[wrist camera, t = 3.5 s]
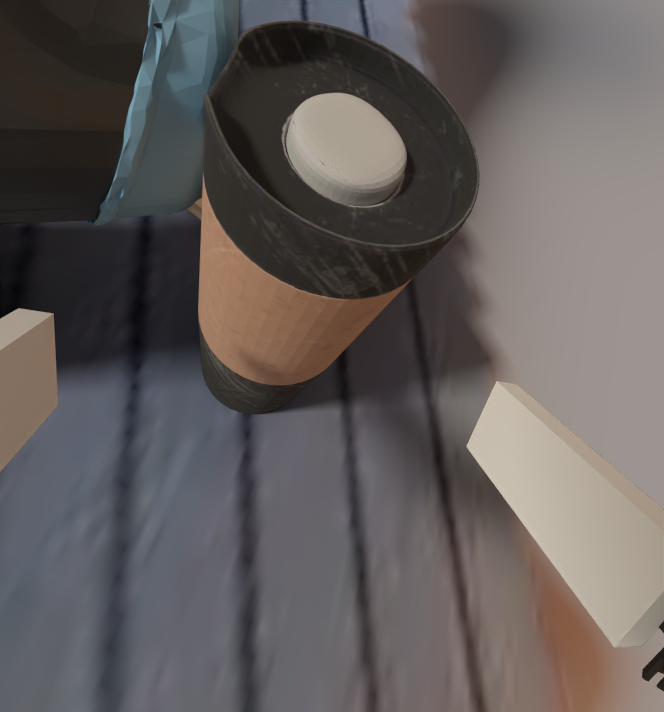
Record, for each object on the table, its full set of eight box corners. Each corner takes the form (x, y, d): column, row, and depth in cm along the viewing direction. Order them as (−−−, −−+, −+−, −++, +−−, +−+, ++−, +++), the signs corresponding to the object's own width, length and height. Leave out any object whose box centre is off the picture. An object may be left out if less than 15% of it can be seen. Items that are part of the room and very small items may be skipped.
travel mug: (323, 390, 29) (532, 212, 11) (227, 438, 25) (300, 297, 8) (276, 303, 30) (395, 15, 12) (178, 339, 27) (143, 14, 9)
